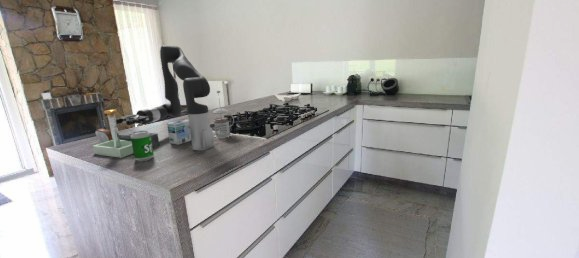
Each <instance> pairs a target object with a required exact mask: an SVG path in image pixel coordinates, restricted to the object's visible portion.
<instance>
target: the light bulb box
mask: <svg viewBox="0 0 579 258" xmlns="http://www.w3.org/2000/svg"><path fill="white" fill-rule="evenodd" d="M166 126H167V131H168V132H167V133H168V137H169V138H168V139H169V143H170V144H172V145H181V144H184V143H188V142H190V141H191V134H190V127H189V119H185V118H184V119H178V120H175V121H172V122H167V123H166Z"/></svg>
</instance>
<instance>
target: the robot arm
mask: <svg viewBox="0 0 579 258" xmlns="http://www.w3.org/2000/svg"><path fill="white" fill-rule="evenodd" d="M159 49H160V51H159V54H160V55H159V58H160V62H161V63H160V64H161V70H162V77H163V83H164V98H165V99H166V100H167V101H169V103H163V104H162V105H159V106H156V107H149V108H144V109H140V110H138V111H136V114H131V115H129V114H128V115H124V116H120V117H118V118H116V123H117V125H119V124H123V123H124V124H126V126H131V125H137V124H138V125H139V124H140V125H147V124H150V123H154V122H156V121H160V120H164V119H166V118H167V116H169V117H175V118H176V117H179V116H180V115H181V113H182V110H183V109H182V104H181V100H180V99H179V98H180V97H179V86H178V82H177V80H176V78H175V77H174V76H173V74H172V72H171V70H170V68H169V63H170V64H173V65H172V69H173V71H174V73H175V75H176V76H177V78H179V79H180V80H181V81H182V82H183V83H182V86H183V93H184V98H185V103H186V104H185V105H186V110H187V117H188V119H187V120H189V127H190V134H191V149H192V151H193V150H194V151H208V150H211V148H213V147H215V143H214V134H213V127H211V123H210V114H209V107H208V105H206V104H202V103H199V102H196V100H195V99H200V98H206V97H208V96H209V95H210V93H211V86H210V84H209V81H208V80H207V79H206V77H205V76H204V75H202V74H201V73H200V72H199V71H198V70H197V69H196V68H195V66H194V65H193V63H191V61H189V59H188V58H187V57H186V55H185V53H184V52H183V50H182V48H181V47H180V46H178V45H177V46H176V45H167V44H164V45H161V47H160V48H159Z"/></svg>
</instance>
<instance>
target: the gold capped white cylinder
mask: <svg viewBox="0 0 579 258" xmlns="http://www.w3.org/2000/svg"><path fill="white" fill-rule="evenodd" d="M103 113H104V114H105V115H106V116H107V119H108V120H107V121H108V124H109V130H110V132H111V134H112V139H113V144H114V148H121V143H120V138H119V133H120V132H119V129H118V124H117V123H116V119H117V118H116V114H115V113H117V109H109V110H108V109H107V110H104V112H103Z"/></svg>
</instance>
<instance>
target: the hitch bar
mask: <svg viewBox="0 0 579 258" xmlns="http://www.w3.org/2000/svg"><path fill="white" fill-rule="evenodd" d="M134 132H135V131H132V130H125V131H122V132H121V131H120V132H118V133H119V138H120V140H126V141H131V137H130V136H131V135H132V133H134ZM149 133H150V136H151V142H152V148H155V147H158V146H160V141H159V134H158V133H154V132H149Z"/></svg>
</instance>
